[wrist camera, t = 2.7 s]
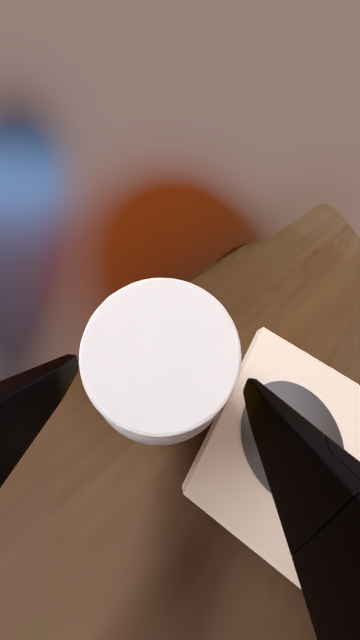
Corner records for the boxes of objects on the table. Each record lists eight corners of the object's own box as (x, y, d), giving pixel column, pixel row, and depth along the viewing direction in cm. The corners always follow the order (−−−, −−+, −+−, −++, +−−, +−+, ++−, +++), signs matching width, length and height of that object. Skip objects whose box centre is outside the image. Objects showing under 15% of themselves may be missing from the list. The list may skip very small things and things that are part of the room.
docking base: (323, 599, 12) (342, 623, 11) (181, 485, 14) (183, 495, 12) (359, 392, 18) (374, 393, 17) (257, 330, 20) (263, 326, 18)
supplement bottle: (193, 342, 18) (250, 254, 7) (201, 411, 16) (314, 474, 4) (130, 345, 18) (62, 251, 6) (126, 418, 15) (-2, 519, 3)
